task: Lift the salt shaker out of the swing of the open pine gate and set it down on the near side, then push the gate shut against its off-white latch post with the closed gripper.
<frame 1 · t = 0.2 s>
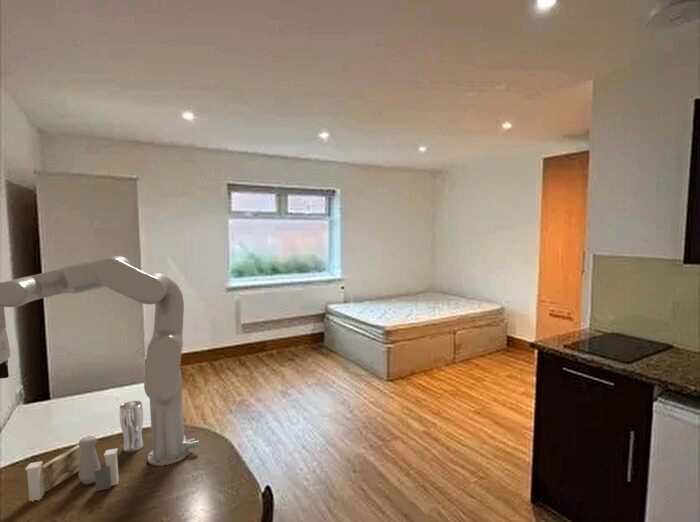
beer glass: (133, 447, 139), on the table
gate posts: (169, 455, 134), on the table
gate: (68, 463, 122), point 4 cm above the table, hinge at 55.0°
salt shaker: (90, 480, 121), on the table
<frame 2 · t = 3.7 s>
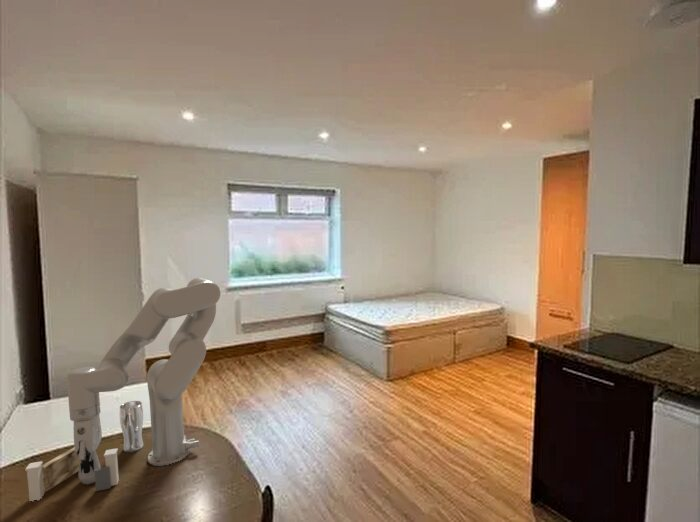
hand: (89, 469, 121), 3 cm above the table, tool pointing down, fingers closed on salt shaker, 3 cm apart
salt shaker: (90, 480, 121), on the table, touching gripper
everything else where it was.
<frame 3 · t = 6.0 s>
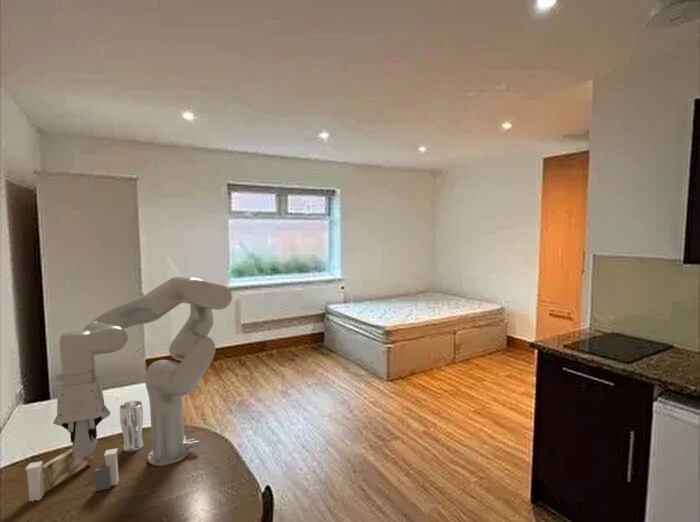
hand: (84, 442, 111), 17 cm above the table, tool pointing down, fingers closed on salt shaker, 3 cm apart
salt shaker: (85, 454, 112), point 13 cm above the table, touching gripper
everything else where it was.
when the fingers open (5 cm above the table, at t = 8.2 s): salt shaker drops 1 cm, on the table.
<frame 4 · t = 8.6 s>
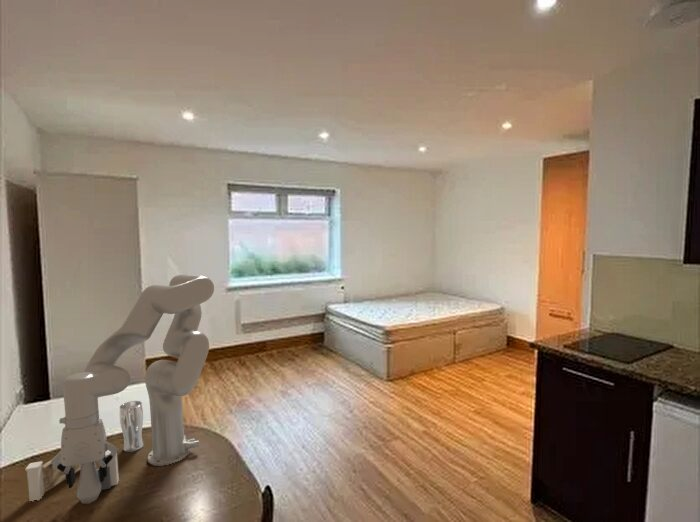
hand: (87, 481, 112), 5 cm above the table, tool pointing down, fingers open, 6 cm apart
salt shaker: (89, 499, 113), on the table
everything else where it was.
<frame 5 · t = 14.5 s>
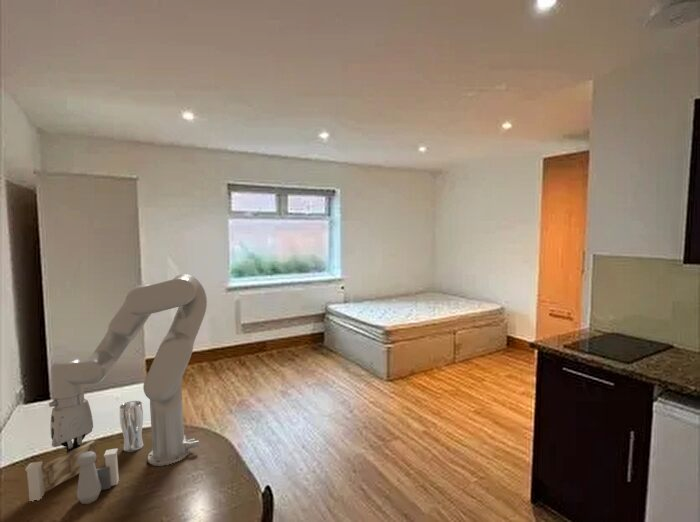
hand: (74, 457, 126), 4 cm above the table, tool pointing down, fingers closed
gate: (70, 464, 122), point 4 cm above the table, hinge at 49.3°, touching gripper
everything else where it was.
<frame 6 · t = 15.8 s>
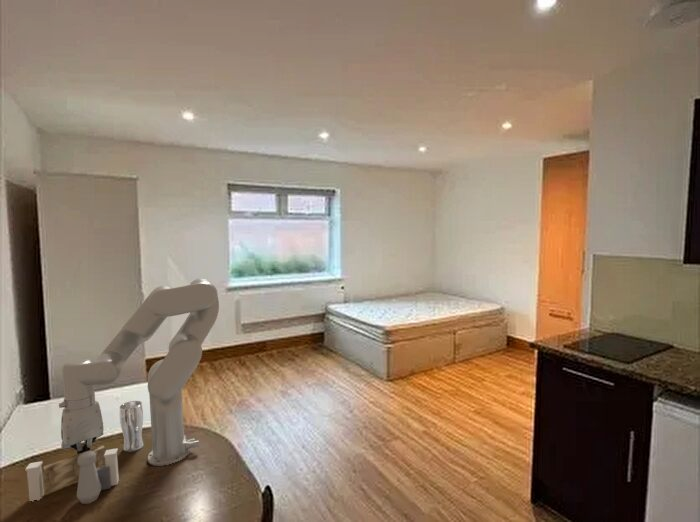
hand: (84, 460, 124), 5 cm above the table, tool pointing down, fingers closed
gate: (76, 468, 120), point 4 cm above the table, hinge at 27.6°, touching gripper
everything else where it was.
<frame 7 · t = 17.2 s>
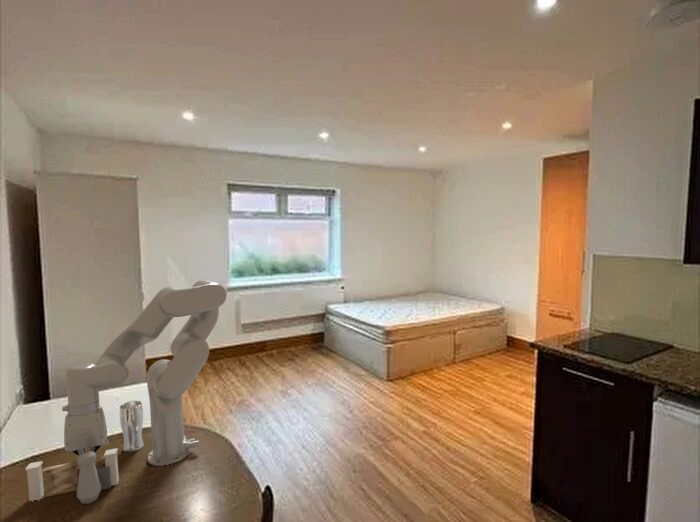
hand: (88, 467, 120), 5 cm above the table, tool pointing down, fingers closed
gate: (75, 475, 117), point 4 cm above the table, hinge at 3.0°, touching gripper
everything else where it was.
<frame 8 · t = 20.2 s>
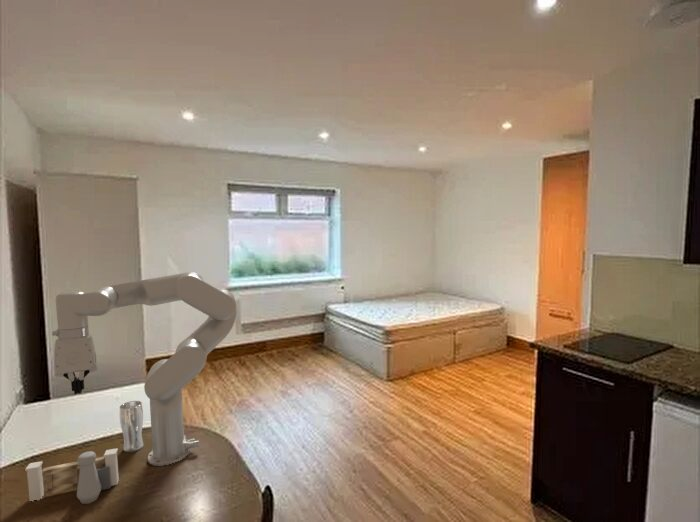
hand: (78, 392, 124), 25 cm above the table, tool pointing down, fingers closed
gate: (75, 475, 117), point 4 cm above the table, hinge at 2.9°
everything else where it was.
at the end: gate at +3° (first picture: +55°); salt shaker inside the target area (0.2 cm from its centre), on the table; salt shaker tilted 0° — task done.
